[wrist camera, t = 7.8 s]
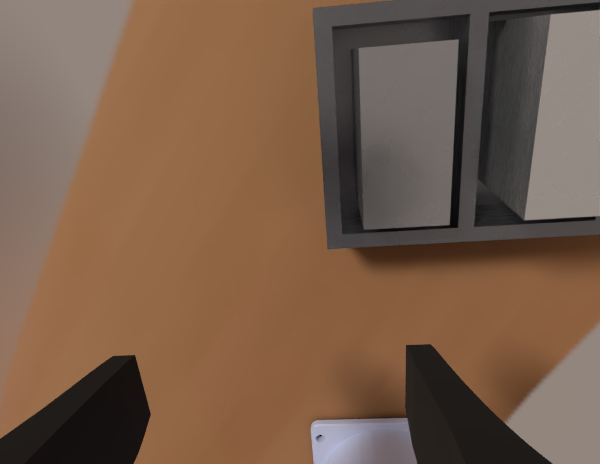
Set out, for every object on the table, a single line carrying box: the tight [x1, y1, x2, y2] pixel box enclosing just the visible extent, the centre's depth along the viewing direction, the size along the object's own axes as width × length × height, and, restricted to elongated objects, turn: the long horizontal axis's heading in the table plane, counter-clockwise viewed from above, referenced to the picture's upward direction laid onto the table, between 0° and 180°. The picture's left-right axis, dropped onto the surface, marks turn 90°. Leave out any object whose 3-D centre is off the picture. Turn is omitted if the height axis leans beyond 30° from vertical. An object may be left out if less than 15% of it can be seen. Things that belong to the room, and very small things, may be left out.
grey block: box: [477, 10, 600, 220], centre depth 15 cm, size 6×3×5 cm, turn 4°
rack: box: [313, 0, 600, 249], centre depth 16 cm, size 9×11×4 cm
